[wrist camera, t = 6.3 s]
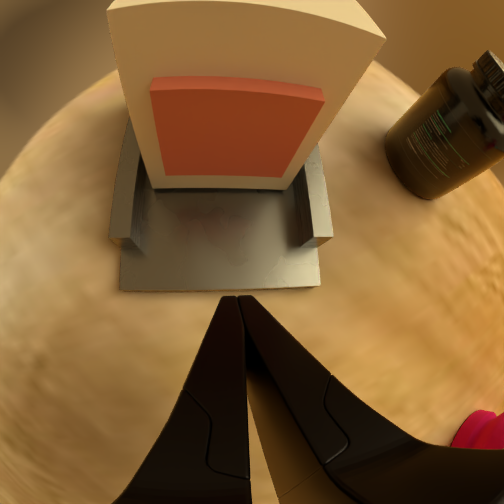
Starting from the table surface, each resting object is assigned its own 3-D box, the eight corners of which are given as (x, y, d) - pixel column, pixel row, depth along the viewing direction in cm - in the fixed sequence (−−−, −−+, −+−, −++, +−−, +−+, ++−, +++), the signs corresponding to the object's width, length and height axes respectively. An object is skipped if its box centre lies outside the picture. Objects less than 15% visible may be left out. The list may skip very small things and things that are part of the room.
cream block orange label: (287, 200, 14) (395, 50, 5) (151, 199, 13) (97, 21, 3) (279, 131, 15) (344, -12, 6) (160, 128, 14) (145, -32, 4)
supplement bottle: (412, 125, 20) (491, 46, 8) (452, 189, 19) (548, 127, 7) (367, 135, 18) (460, 26, 7) (414, 213, 17) (543, 134, 6)
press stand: (314, 287, 15) (466, 234, 5) (124, 291, 13) (-9, 234, 3) (289, 102, 18) (341, -12, 8) (148, 97, 16) (134, -29, 6)
